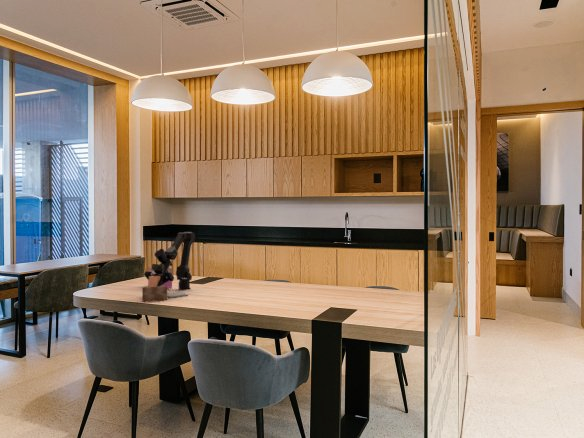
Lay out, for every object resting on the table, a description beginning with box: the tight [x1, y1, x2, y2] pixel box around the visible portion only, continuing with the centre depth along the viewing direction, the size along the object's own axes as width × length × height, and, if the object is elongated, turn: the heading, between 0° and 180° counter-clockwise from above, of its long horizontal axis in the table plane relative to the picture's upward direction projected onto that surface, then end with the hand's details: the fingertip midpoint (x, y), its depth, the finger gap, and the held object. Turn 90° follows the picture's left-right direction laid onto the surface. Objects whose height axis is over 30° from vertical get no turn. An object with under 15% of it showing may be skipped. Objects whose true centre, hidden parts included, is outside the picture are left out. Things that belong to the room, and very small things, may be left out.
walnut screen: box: [141, 286, 168, 303], centre depth 268 cm, size 14×5×8 cm, turn 107°
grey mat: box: [167, 291, 189, 299], centre depth 283 cm, size 12×12×1 cm
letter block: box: [148, 276, 161, 287], centre depth 277 cm, size 5×5×13 cm
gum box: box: [147, 266, 173, 290], centre depth 317 cm, size 24×8×14 cm, turn 41°
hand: (153, 287), depth 276 cm, fingers closed on letter block, 5 cm apart
